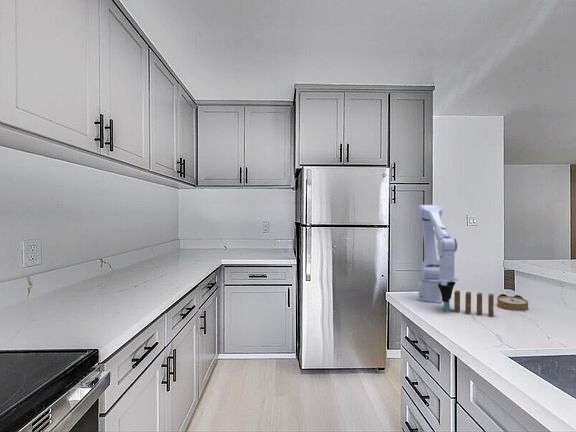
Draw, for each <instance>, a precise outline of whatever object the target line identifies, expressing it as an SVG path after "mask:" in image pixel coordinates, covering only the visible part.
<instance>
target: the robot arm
mask: <svg viewBox="0 0 576 432" xmlns="http://www.w3.org/2000/svg"><path fill="white" fill-rule="evenodd" d="M416 211H417V214H416V215H417V222H418V224H419V225H420V226H421V228H422V234H423V235H422V236H423V244H424V246H423V247H424V254H425V260H423V261H422V262H421V263H420V265H419V267H420V269H419V276H420V280H419V281H418V301H420V302H430V303H435V304H436V303H438V304H439V303H440V304H441V303H442V302H443V303H444V302H449V303H450V300H451V298H452V294H453V289H454V288H455V285H456V282H457V281H458V280H459V279H458V278H456V277H455V255H456V252H457V250H458V241H457V238H455V237H454V236H452V235H451V233H450V231H449V229H448V227H447V225H444V223H443V220H442V215H443V208H442V206H441V205H440V204H419V205H418V206H417V209H416ZM436 241H437V243H436ZM438 256H439V258H438Z"/></svg>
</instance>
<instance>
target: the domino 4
mask: <svg viewBox="0 0 576 432" xmlns="http://www.w3.org/2000/svg"><path fill="white" fill-rule="evenodd" d="M494 297H495V294H494V293H488V300H487V301H488V309H487V310H488V311H487V313H488V315H487V316H489V318H494V311H495V310H494V307H495V306H494V304H495V303H494V300H495V299H494Z"/></svg>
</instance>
